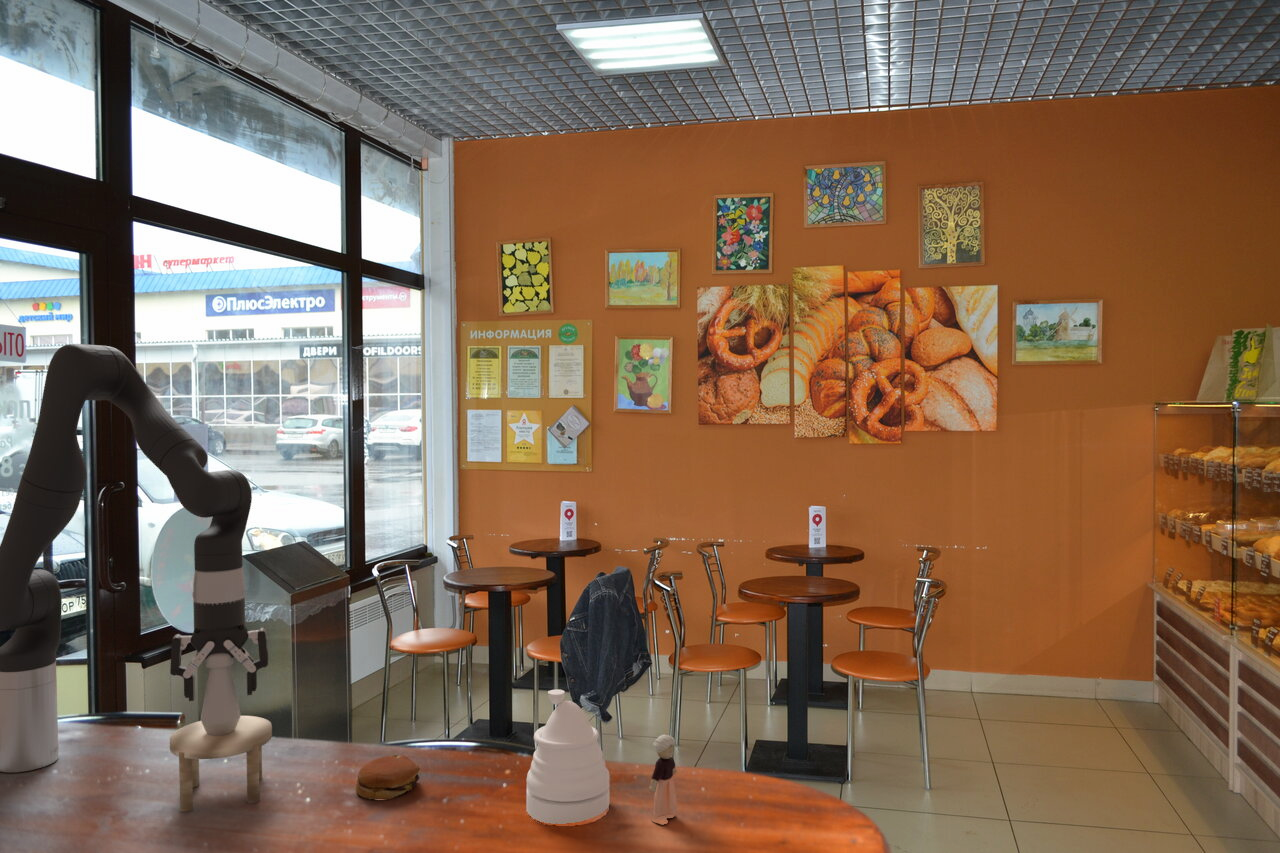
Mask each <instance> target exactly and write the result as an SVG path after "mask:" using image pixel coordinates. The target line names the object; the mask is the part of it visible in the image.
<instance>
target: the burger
mask: <svg viewBox="0 0 1280 853" xmlns="http://www.w3.org/2000/svg"><path fill="white" fill-rule="evenodd" d="M419 766H420V765H419V764H417V763H416V762H414V761H413V760H412V759H411V758H409V757H408V756H407V755H404V754H402V755H399V754H394V755H387V756H381V757H377V758H375V759H373V760H370V761H368V762H366V763H365V764H364V765H362V767H361V768H360V770H359V771H358V774H357V780H356V790H355V792H356V793H357V795H359V796H360V797H361V796H362V797H361V798H363V797H365V798H364V799H366V798H371V799H389V800H391V799H390V798H392V799H394V798H393V797H395V796H397V797H399V796H398V795H400V796H401V794H402V795H403V794H405V793H407V792H406V791H408V792H409V790H410V791H411V790H413V788H414V787H415V785H417V783H418V781H419V780H420V776H419V772H420V770H421V768H420V767H419ZM395 798H396V797H395Z"/></svg>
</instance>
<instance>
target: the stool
mask: <svg viewBox="0 0 1280 853" xmlns="http://www.w3.org/2000/svg"><path fill="white" fill-rule="evenodd" d="M272 737H273V726H272V722H271V721H270V720H268V719H266V718H263V717H259V716H254V715H240V719H239V721H238V724H237V726H236V729H235V730H234V731H233V732H231V733H230V734H226V735H220V736H212V735H207V733H206V731H205V728H204V726H203V724H202V722H201V720H198V721H195V722H192V723H189V724H186V725H184V726H182V727H180V728H179V729H177V730H174V732H172V734H171V735H170V736H169V750H170V753H171V754H173V755H174V756H176V757H178V769H179V770H178V771H179V773H178V775H179V776H178V777H179V811H180V812H181V813H186V812H187V813H188V812H190V811H193V809H194V798H193V797H194V794H193V793H194V792H193V791H194V790H193V788H197V787H199V786H200V760H213V759H222V758H229V757H234V756H238V755H242V754H245V755H246V796H247V797H246V799H247V800H246V802H247V803H248V804H255V803H258V802H260V800H261V798H260V796H261V795H260V779H262V778H263V750H262V749H263V748H262V747H263V746H265V745H266V744H267V743H269V742H270V741H271V739H272ZM261 777H262V778H261ZM259 778H260V779H259Z"/></svg>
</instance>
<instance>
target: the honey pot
mask: <svg viewBox="0 0 1280 853" xmlns="http://www.w3.org/2000/svg"><path fill="white" fill-rule="evenodd" d="M547 695H548V699H549V701H550V703H552V704H553V705H558V706H557V707H555V709H554V710H553V711H552V713H551V714H550V716H549V718H548V720H547V722H546V724H545V725H544V726H541V727H540V728H538V729H537V730H536V731H535V732H534V735H533V740H534V741H535V743H536V744H537V747H536V749H535V751H534V752H533V755H532V761H531V762H530V763H531V764H530V768H529V770H528V772H527V775H526V780H525V781H526V802H525V803H526V813H527V812H528V813H527V815H528V814H529V815H530V816H531V817H532V818H533V819H536V820H538V821H540V822H544V823H551V824H556V823H557V824H566V823H575V822H581V821H584V820H588V819H590V818H593V817H595V816H597V815H600V814H601V813H603V812H604V811H605V810H606V809H607V808H608V806H609V804H610V800H611V799H610V796H611V795H610V772H609V769H608V768H607V766H606V761H605V759H604V752H603V750H602V749H601V748H600V744H599V742H598V739H599V736H600V734H599V731H598V729H597V728H595V727H594V726H592V725H591V723H590V720H589V719H588V717H587V715H586V714H585V712H584V710H582V708H581V707H580V706H579V705H578V704H577V703H575V702H573V701H570V700H564V698H565V690H563V689H560V688H559V689H551V690H548V692H547ZM532 818H531V819H532ZM533 819H532V820H533Z"/></svg>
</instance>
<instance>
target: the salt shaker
mask: <svg viewBox="0 0 1280 853" xmlns="http://www.w3.org/2000/svg"><path fill="white" fill-rule="evenodd" d="M234 662H235V657H234V658H231V656H230V655H229V654H227V653H216V654H211V655H210V656H208V657H207V659H204V665H205V667H206V668H207V669H209V670H208V677H207V682H206V688H205V693H204V699H203V703H202V709H201V715H200V721H201V722H202V724H203V726H204V728H205V731H206V733H207V735H212V736H220V735H226V734H230V733H231V732H233V731H234V730H235V729H236V726H237V724H238V721H239V719H240V716H242V714H241V709H240V705H239V701H238V696H237V692H236V686H235V683H234V678H233V673H232V672H233V671H232V668H231V666H233V664H234Z"/></svg>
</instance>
